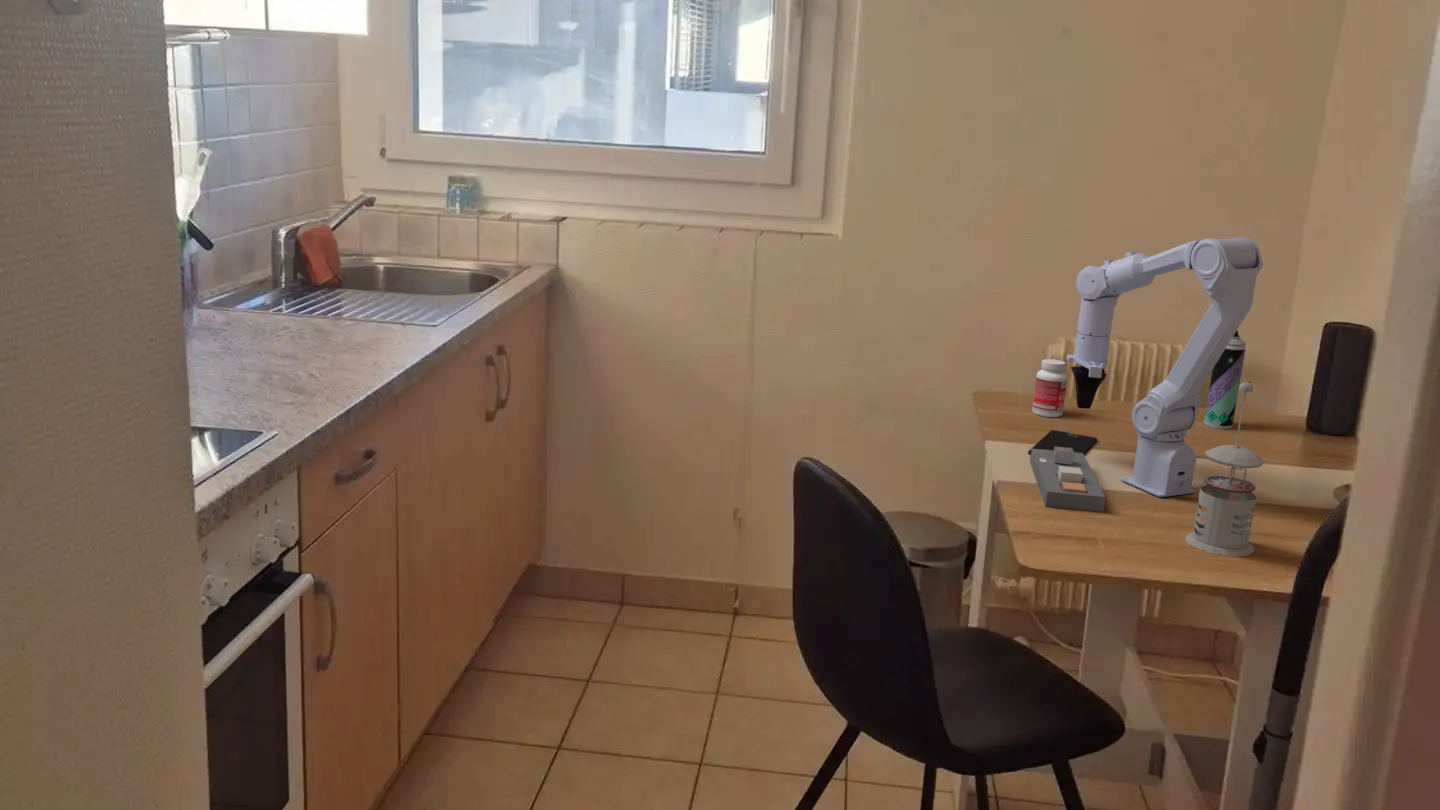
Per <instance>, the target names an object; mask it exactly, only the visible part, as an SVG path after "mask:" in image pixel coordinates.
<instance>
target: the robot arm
mask: <svg viewBox="0 0 1440 810" xmlns="http://www.w3.org/2000/svg"><path fill="white" fill-rule="evenodd" d="M1263 266H1264V262H1263V259H1262V255H1261V252H1260V249H1259V246H1258V245H1257V243H1256V242H1255V241H1254V240H1253V239H1251V238H1249V237H1247V236H1239V237H1234V238H1212V237H1211V238H1204V239H1201V240H1194V241H1193V240H1192V241H1189V242H1186V243H1184V244H1181V245H1178V246H1175V247H1173V248H1170V249H1168V250H1164V251H1161V252H1160V253H1156V254H1154V255H1152V256H1151V255H1150V256H1148V255H1147V254H1144V253H1141V252H1138V253H1137V251H1130V252H1125V257H1123V258H1120V259H1116V260H1113V259H1108V260H1105V261H1104V263H1103V264H1102V265H1101V266H1099V265H1098V266H1094V265H1087V266H1086V267H1084V268H1083V269H1081V271H1079V273H1078V274H1077V277H1076V282H1075V283H1076V284H1075V285H1076V290H1077V292H1078V295H1080V297H1081V299H1080V307H1079V315H1078V320H1077V321H1078V322H1077V329H1076V330H1077V331H1076V337H1075V346H1074V351H1073V354H1067V355H1066V360H1067V361H1069V362H1074V363H1075V364H1077V365H1079V366H1075V365H1074V366H1071V367H1070V369H1071V372H1072V374H1073V378H1074V385H1075V398H1076V405H1077V408H1078V409H1086V410H1090V409H1091V407H1092V405H1093V402H1094V399H1095V396H1096V395H1097V391H1098V389H1099V387H1100V385H1101V384H1102V382H1103V381H1104V380H1105V378H1107V373H1106V372H1105V369H1104V368H1105V367H1106V366H1107V365H1108V364H1109V363H1108V362H1109V359H1108V355H1109V347H1110V340H1111V334H1112V333H1111V332H1112V326H1113V318H1114V311H1115V308H1116V306H1117V304H1118V300H1119V298H1120V297H1121V295H1122V294H1124V293H1128V292H1131V291H1135V290H1137V289H1141V288H1144V287H1148V286H1150V285H1151V284H1152V283H1153V281H1154V280H1155V276H1158V275H1162V274H1165V273H1170V272H1175V271H1177V270H1181V269H1185V268H1186V269H1187V270H1189V271H1191V270H1192V271H1193V272H1194V274H1195V275H1196V277H1197V279H1198V281H1199V282H1200V284H1201V286H1202V287H1203V288H1204V290H1205V292H1206V295H1208V296H1209V298H1210V301H1211V303H1210V306H1209V307H1208V309H1207V310H1206V312H1205V314H1204V315H1203V317H1202V319H1201V320H1200V322H1199V324H1198V325H1197V327H1196V329H1195V330H1194V332H1193V334H1192V335H1191V337H1190V339H1189V340H1188V342H1187V343H1186V345H1185V347H1184V348H1183V350H1182V352H1181V353H1180V354H1179V357H1178V358H1177V360H1176V362H1175V363H1174V365H1173V366H1172V368H1171V370H1170V372H1169V373H1168V375H1167V376H1166V378H1165V380H1163V381H1162V382H1160V383H1158V384H1157V385H1156V386H1154V387H1153V388H1152V389H1150V390H1149V392H1148V393H1147V395H1146V396H1145V397H1144V398H1143V399H1141V400H1139V401H1137V403H1136V404H1135V405H1134V407H1133V409H1132V414H1131V420H1132V424H1133V426H1134V428H1135V430H1136V435H1138V438H1137V443H1136V444H1137V445H1136V451H1135V457H1134V458H1135V459H1134V464H1133V465H1134V466H1133V471H1132V475H1131V476H1128V475H1127V476H1122V477H1120V481H1122V482H1124V483H1126V484H1128V485H1131V486H1133V487H1136V488H1138V489H1140V490H1142V491H1145V492H1148V493H1149V494H1152V495H1153V496H1155V497H1158V498H1165V497H1171V496H1178V495H1179V496H1180V495H1187V494H1194V493H1195V491H1196V490H1195V489H1193V488H1192V487H1193V481H1194V476H1195V475H1194V473H1195V469H1196V462H1197V454H1196V452H1195V449H1194V448H1193V447H1192V446H1190V445H1188V444H1187V442H1185V437H1187V435H1188V430H1191V429H1192V428H1193V426H1194V425H1195V423H1196V421H1197V416H1198V410H1199V407H1200V406H1201V405H1202V398H1201V396H1200V395H1199V391H1200V390H1201V389H1202V387H1203V385H1204V383H1205V382H1206V381H1207V379H1208V377H1209V375H1210V374H1211V373H1212V369H1213V368H1214V366H1215V364H1216V363H1217V361H1218V360H1219V358H1220V356H1221V355H1222V353H1223V352H1224V350H1225V348H1226V347H1227V345H1228V344H1229V342H1230V340H1231V339H1232V337H1233V336H1234V334H1235V333H1236V331H1238V329H1239V327H1241V325H1242V324H1243V321H1244V320H1245V318H1246V317H1247V315H1248V313H1250V310H1251V308H1252V306H1253V302H1254V295H1255V289H1256V283H1257V277H1258V275H1259V273H1260V272H1261V270H1262V268H1263Z"/></svg>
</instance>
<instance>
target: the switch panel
mask: <svg viewBox="0 0 1440 810" xmlns="http://www.w3.org/2000/svg"><path fill="white" fill-rule="evenodd" d="M1030 449H1031V448H1030ZM1053 454H1054V451H1053V450H1042V449H1031V455H1030V459H1029V463H1030V467H1031V470H1032V472H1033V475H1034V477H1035V481H1036V483H1037V487H1038V489H1039V492H1040V494H1041V497H1042V502H1043V503H1044V507H1047V508H1057V509H1059V508H1060V509H1070V510H1078V511H1079V510H1082V511H1091V512H1101V513H1103V512H1104V508H1105V503H1106V496H1105V493H1104V491H1103V490H1102V488H1101V486H1100V483H1099V482H1098V479H1097V478H1096V476H1095V474H1094V472H1093V470H1092V468H1091V466H1090V463H1089V462H1088V460H1087V458H1086V456H1085V455H1084V454H1083V453H1076V452H1074V457H1073V464H1062V463H1054V460H1053ZM1059 466H1064V467H1074V468H1080V470H1081V472H1082V474H1083V476H1082V483H1079V484H1083V485H1084V487H1085V489H1086V493H1078V492H1067V491H1062V488H1061V484H1062V482H1060V481H1058V478H1057V476H1058V469H1059ZM1068 483H1071V482H1068Z"/></svg>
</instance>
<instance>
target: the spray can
mask: <svg viewBox="0 0 1440 810" xmlns="http://www.w3.org/2000/svg"><path fill="white" fill-rule="evenodd" d="M1246 344H1247V343H1246V342H1245V341H1244V340H1242V339H1241V336H1240V334H1239V331H1238V330H1237V331H1236V333H1235V334H1234V336H1233V337H1232V339H1231V340H1230V342H1229V344H1228V345H1227V347H1226V348H1225V350H1224V352H1223V353H1222V355H1221V356H1220V358H1219V360H1218V361H1217V363H1216V364H1215V366H1214V368H1213V369H1212V371H1211V377H1210V383H1209V387H1208V388H1209V389H1208V395H1207V402H1206V407H1205V413H1204V420H1203V425H1204V426H1206V427H1208V428H1211V429H1216V430H1232V429H1233V425H1234V419H1235V413H1236V408H1237V407H1236V406H1237V402H1238V401H1237V400H1238V397H1239V391H1240V390H1239V386H1240V385H1241V377H1242V372H1243V365H1244V362H1245V361H1244V360H1245V356H1246V355H1245V354H1246V353H1245V352H1246V348H1247V347H1246Z"/></svg>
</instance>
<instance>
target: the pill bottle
mask: <svg viewBox="0 0 1440 810" xmlns="http://www.w3.org/2000/svg"><path fill="white" fill-rule="evenodd" d="M1040 367H1041V369H1040V370H1039V371H1037V373H1036V376H1035V382H1034V383H1035V384H1034V392H1033V393H1034V394H1033V399H1032V400H1033V401H1032V407H1031V412H1032V413H1033V414H1034V415H1037V416H1040V417H1045V418H1058V417H1061V416H1062V415H1063V413H1064V406H1065V399H1066V392H1067V384H1068V375H1067V373H1065V372H1064V371H1065V369H1066V362H1065V361H1064V360H1059V359H1054V358H1053V359H1052V358H1044V359H1042V360H1041V364H1040Z"/></svg>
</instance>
